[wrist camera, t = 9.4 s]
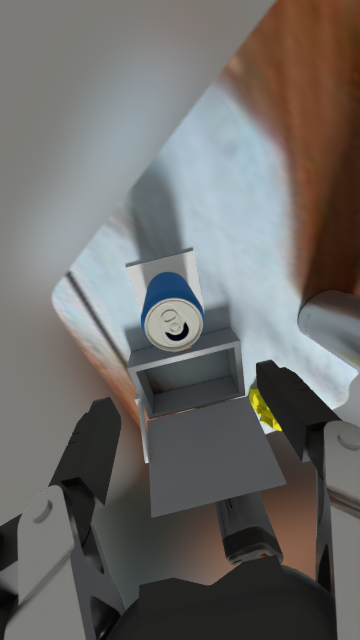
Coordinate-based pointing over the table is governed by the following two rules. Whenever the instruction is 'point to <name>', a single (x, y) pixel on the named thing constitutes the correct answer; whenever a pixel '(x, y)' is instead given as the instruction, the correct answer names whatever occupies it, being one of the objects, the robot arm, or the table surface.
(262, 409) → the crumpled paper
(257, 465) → the case
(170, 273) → the beverage can
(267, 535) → the electronic device
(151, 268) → the pad
